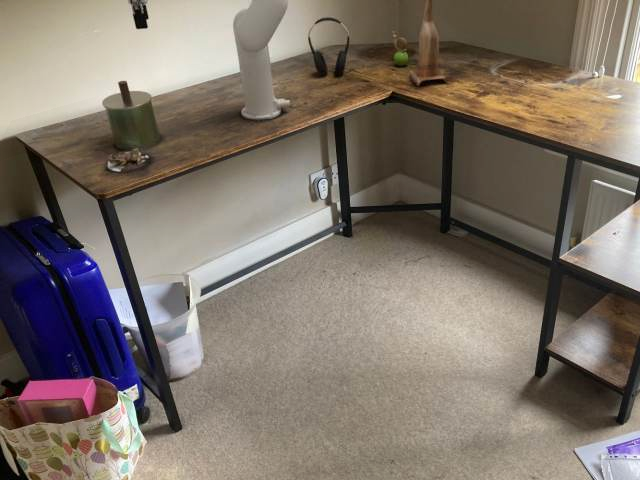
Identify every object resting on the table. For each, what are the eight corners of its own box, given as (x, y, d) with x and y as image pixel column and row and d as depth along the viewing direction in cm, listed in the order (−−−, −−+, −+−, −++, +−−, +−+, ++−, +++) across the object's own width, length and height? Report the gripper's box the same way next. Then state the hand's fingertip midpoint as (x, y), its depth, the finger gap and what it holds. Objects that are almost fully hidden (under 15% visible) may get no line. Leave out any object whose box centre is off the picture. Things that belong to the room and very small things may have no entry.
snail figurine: (397, 61, 248) (396, 29, 241) (411, 64, 245) (411, 32, 238) (389, 65, 245) (388, 33, 238) (402, 68, 242) (402, 35, 235)
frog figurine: (121, 176, 175) (117, 163, 173) (98, 163, 182) (94, 151, 179) (157, 162, 182) (154, 149, 180) (135, 150, 188) (131, 138, 186)
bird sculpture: (436, 73, 237) (439, -22, 218) (449, 83, 228) (453, -14, 209) (407, 77, 235) (408, -19, 215) (419, 87, 226) (420, -11, 206)
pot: (160, 130, 199) (150, 91, 192) (159, 147, 190) (149, 106, 182) (117, 135, 197) (106, 95, 189) (114, 153, 187) (102, 111, 180)
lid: (152, 92, 193) (147, 72, 189) (151, 108, 182) (146, 87, 179) (104, 97, 190) (99, 76, 186) (101, 114, 180) (94, 93, 176)
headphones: (351, 77, 235) (348, 20, 223) (310, 78, 235) (305, 21, 223) (351, 70, 242) (348, 13, 230) (311, 71, 242) (307, 14, 230)
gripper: (140, -37, 169) (155, 31, 179) (142, -49, 182) (156, 15, 193) (110, -35, 168) (127, 33, 178) (115, -47, 181) (130, 17, 191)
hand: (142, 23), depth 185 cm, fingers open, 9 cm apart
